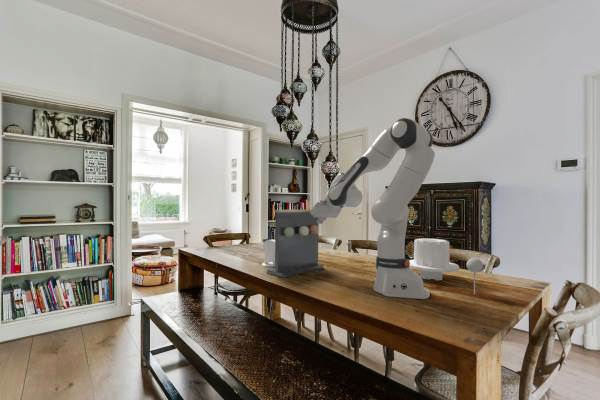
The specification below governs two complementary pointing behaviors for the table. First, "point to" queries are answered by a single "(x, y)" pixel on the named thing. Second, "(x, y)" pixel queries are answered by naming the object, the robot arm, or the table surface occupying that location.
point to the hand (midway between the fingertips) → (319, 223)
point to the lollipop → (474, 267)
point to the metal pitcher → (269, 252)
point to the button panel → (295, 244)
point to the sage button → (288, 231)
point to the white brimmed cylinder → (432, 258)
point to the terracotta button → (313, 229)
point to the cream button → (303, 230)
